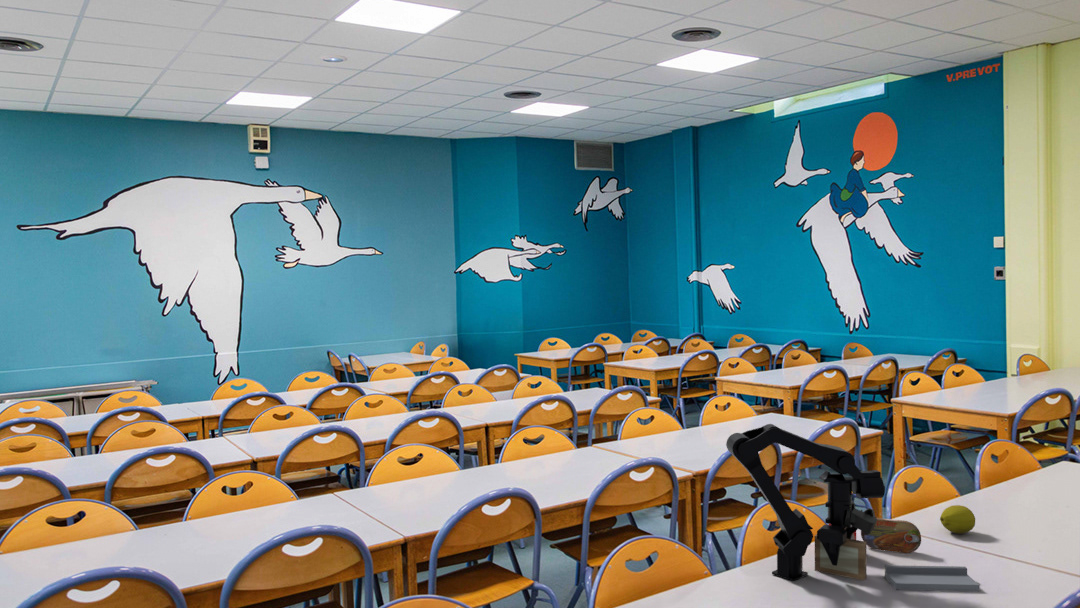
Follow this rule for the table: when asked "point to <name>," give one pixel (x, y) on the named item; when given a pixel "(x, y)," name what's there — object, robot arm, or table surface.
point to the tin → (893, 536)
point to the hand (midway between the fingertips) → (839, 559)
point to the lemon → (958, 519)
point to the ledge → (930, 578)
